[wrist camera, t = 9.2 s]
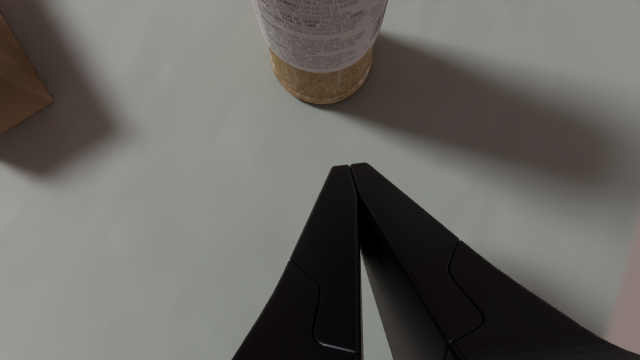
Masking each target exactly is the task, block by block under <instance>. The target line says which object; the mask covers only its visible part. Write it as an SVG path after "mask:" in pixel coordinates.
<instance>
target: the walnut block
mask: <svg viewBox="0 0 640 360" xmlns="http://www.w3.org/2000/svg"><path fill="white" fill-rule="evenodd" d="M53 102H54V100H53V99H52V97H51V95H50V94H49V92H48V90H47V89H46V87H45V85H44V84H43V82H42V80H41V79H40V77H39V75H38V74H37V72H36V71H35V69H34V67H33V66H32V64H31V62H30V61H29V59H28V57H27V56H26V54H25V52H24V51H23V49H22V47H21V46H20V44H19V42H18V41H17V39H16V37H15V36H14V34H13V32H12V31H11V29H10V28H9V26H8V24H7V23H6V21H5V19H4V18H3V16H2V14H1V13H0V135H1V134H2V133H4V132H5V131H7V130H9V129H10V128H12V127H14V126H15V125H17V124H18V123H20V122H22V121H23V120H25V119H27V118H28V117H30V116H31V115H33V114H35V113H36V112H38V111H40V110H41V109H43V108H44V107H46V106H48V105H49V104H51V103H53Z"/></svg>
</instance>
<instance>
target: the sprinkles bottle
mask: <svg viewBox="0 0 640 360" xmlns="http://www.w3.org/2000/svg"><path fill="white" fill-rule="evenodd" d="M387 2H388V0H252V3H253V6H254V9H255V12H256V16H257V19H258V22H259V25H260V28H261V31H262V34H263V36H264V38H265V40H266V42H267V44H268V46H269V49H270V53H271V64H272V67H273V70H274V73H275V75H276V77H277V79H278V80H279V82H280V83H281V85H282V86H283V87H284V88H285V89H286V90H287V91H288V92H289V93H290V94H292V95H293V96H294V97H295V98H298V99H301V100H304V101H306V102H309V103H315V104H333V103H335V102H338V101H341V100H343V99H345V98H347V97H348V96H350V95H352V94H353V93H355V91H356V90H358V89H359V88H360V87H361V85H362V84H363V83H364V82H365V80H366V78H367V76H368V74H369V72H370V69H371V65H372V61H373V51H372V49H373V44H374V42H375V41H376V39H377V36H378V34H379V31H380V28H381V25H382V21H383V17H384V14H385V10H386V6H387Z"/></svg>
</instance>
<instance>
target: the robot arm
mask: <svg viewBox="0 0 640 360" xmlns="http://www.w3.org/2000/svg"><path fill="white" fill-rule="evenodd" d="M360 251H361V255H362V259H363V262H364V265H365V269H366V272H367V275H368V278H369V282H370V285H371V288H372V291H373V295H374V298H375V301H376V304H377V308H378V311H379V314H380V317H381V321H382V324H383V327H384V330H385V334H386V337H387V340H388V343H389V347H390V350H391V353H392V356H393V360H640V355H639V354H636V353H633V352H630V351H627V350H625V349H623V348H620V347H618V346H616V345H614V344H612V343H610V342H608V341H606V340H604V339H602V338H600V337H598V336H597V335H595V334H593V333H592V332H590V331H589V330H587V329H585V328H584V327H582V326H581V325H579V324H578V323H576V322H575V321H574V320H572V319H571V318H569V317H568V316H566V315H565V314H563V313H562V312H560V311H559V310H557V309H556V308H554V307H553V306H551V305H550V304H548V303H547V302H545V301H544V300H542V299H541V298H539V297H538V296H536V295H535V294H533V293H532V292H530V291H529V290H527V289H526V288H524V287H523V286H521V285H520V284H519V283H517V282H516V281H514V280H513V279H511V278H510V277H509V276H507V275H506V274H504V273H503V272H501V271H500V270H499V269H497V268H496V267H494V266H493V265H492V264H491V263H489V262H488V261H487V260H485V259H484V258H483V257H482V256H480V255H479V254H478V253H476V252H475V251H474V250H473V249H471V248H470V247H469V246H468V245H467V244H465V243H464V242H463V241H461V240H460V241H459V238H458V237H457V236H455V235H454V234H453V233H452V232H451V231H449V230H448V229H447V228H446V227H445V226H443V225H442V224H441V223H440V222H438V221H437V220H436V219H435V218H434V217H432V216H431V215H430V214H429V213H428V212H426V211H425V210H424V209H423V208H421V207H420V206H419V205H418V204H417V203H415V202H414V201H413V200H412V199H411V198H409V197H408V196H407V195H406V194H404V193H403V192H402V191H401V190H400V189H398V188H397V187H396V186H395V185H394V184H392V183H391V182H390V181H389V180H387V179H386V178H385V177H384V176H383V175H381V174H380V173H379V172H378V171H377V170H375V169H374V168H373V167H372V166H370V165H369V164H368V163H357V164H351V165H350V167H349V166H348V165H340V166H333V167H332V168H331V170H330V172H329V174H328V177H327V179H326V181H325V183H324V185H323V187H322V190H321V192H320V194H319V196H318V198H317V201H316V203H315V205H314V207H313V209H312V211H311V214H310V216H309V218H308V220H307V222H306V225H305V227H304V229H303V231H302V233H301V235H300V238H299V240H298V242H297V244H296V246H295V248H294V251H293V253H292V255H291V257H290V261H288V263H287V266H286V268H285V270H284V272H283V274H282V276H281V278H280V280H279V282H278V284H277V286H276V288H275V290H274V292H273V294H272V296H271V297H270V299H269V301H268V302H267V304H266V306H265V307H264V309H263V311H262V312H261V314H260V316H259V317H258V319H257V321H256V322H255V324H254V325H253V327H252V328H251V330H250V332H249V333H248V335H247V336H246V338H245V339H244V341H243V343H242V344H241V346H240V347H239V349H238V350H237V352H236V354H235V355H234V357H233V358H232V360H364V354H363V321H362V289H361V258H360Z"/></svg>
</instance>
